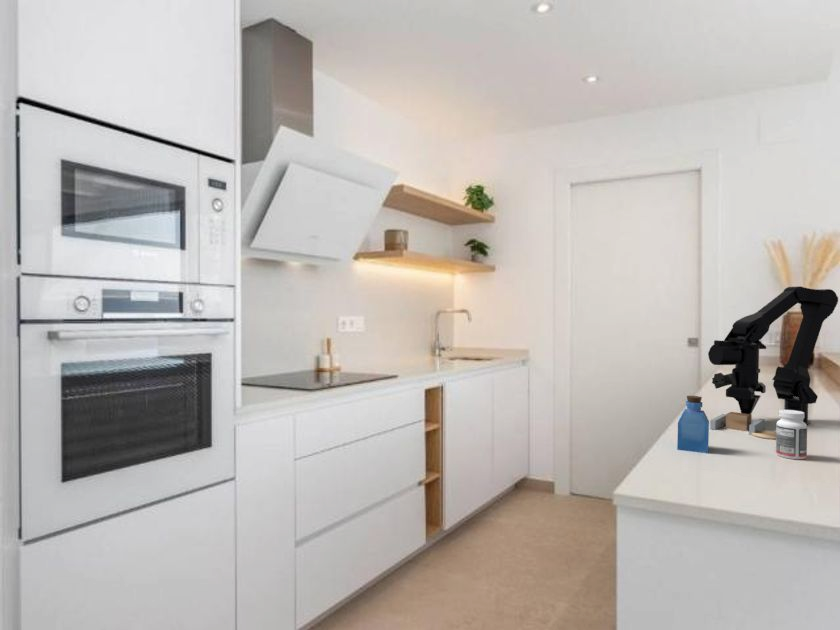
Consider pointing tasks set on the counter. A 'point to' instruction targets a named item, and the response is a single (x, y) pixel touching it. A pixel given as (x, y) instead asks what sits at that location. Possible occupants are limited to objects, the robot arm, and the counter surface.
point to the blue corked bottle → (693, 427)
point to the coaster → (765, 434)
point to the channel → (721, 421)
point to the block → (738, 421)
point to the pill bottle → (791, 435)
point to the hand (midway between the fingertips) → (745, 420)
